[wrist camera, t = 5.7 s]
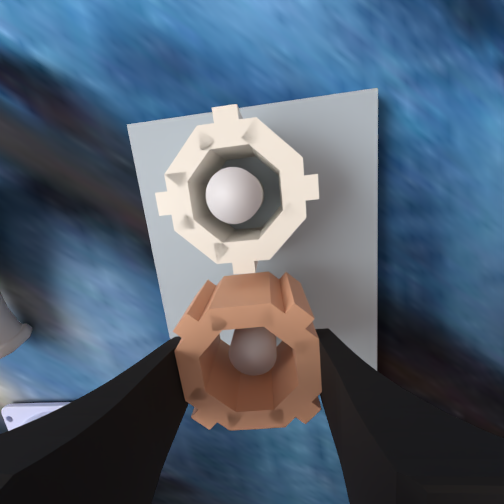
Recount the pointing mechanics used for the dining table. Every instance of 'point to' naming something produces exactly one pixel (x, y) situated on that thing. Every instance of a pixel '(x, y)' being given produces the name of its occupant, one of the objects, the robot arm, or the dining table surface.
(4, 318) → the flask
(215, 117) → the gear
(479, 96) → the dining table surface
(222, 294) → the gear
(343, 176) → the gear board
